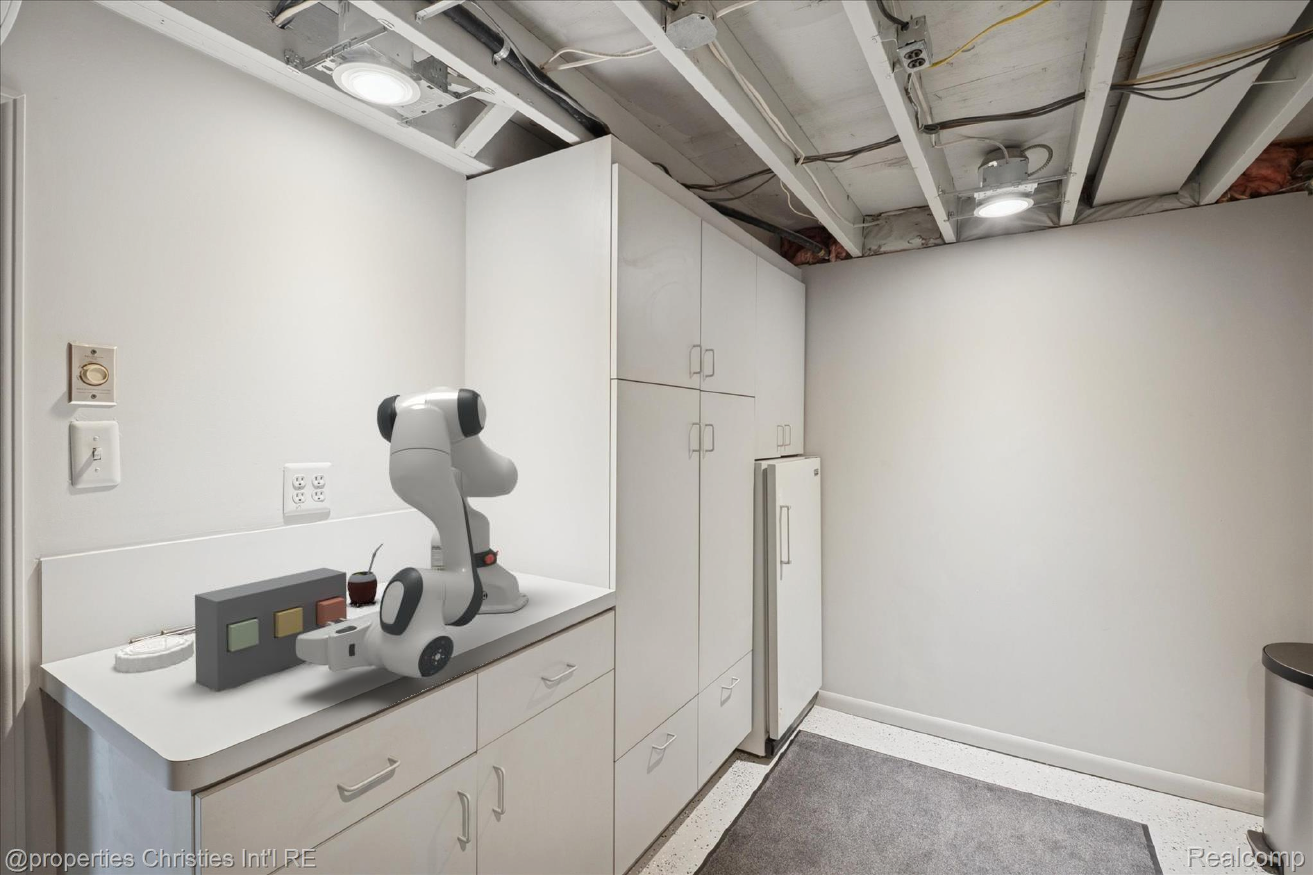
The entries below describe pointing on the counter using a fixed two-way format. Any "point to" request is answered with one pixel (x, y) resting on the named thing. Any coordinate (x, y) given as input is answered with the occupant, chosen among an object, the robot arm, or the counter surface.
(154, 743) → the counter surface
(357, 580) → the mate gourd
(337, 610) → the button brick
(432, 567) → the bath foam
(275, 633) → the button ochre
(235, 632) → the button sage
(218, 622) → the console
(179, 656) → the mooncake
